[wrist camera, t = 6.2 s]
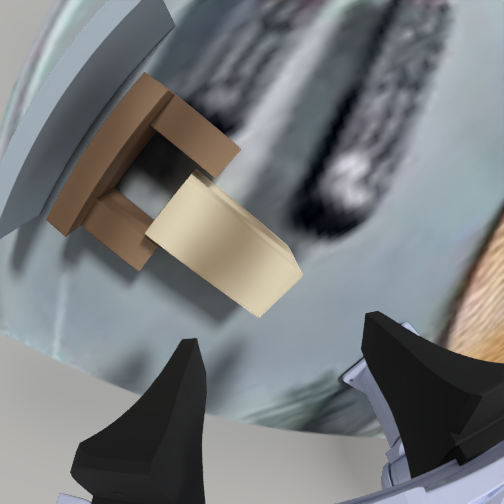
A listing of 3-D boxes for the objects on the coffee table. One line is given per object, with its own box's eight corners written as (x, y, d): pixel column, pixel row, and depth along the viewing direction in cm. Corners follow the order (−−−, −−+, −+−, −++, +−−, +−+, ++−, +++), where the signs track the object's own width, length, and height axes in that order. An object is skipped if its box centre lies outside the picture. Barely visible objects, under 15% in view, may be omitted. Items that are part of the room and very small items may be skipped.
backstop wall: (175, 25, 14) (156, -14, 9) (39, 214, 18) (-9, 244, 13) (159, 14, 14) (134, -25, 8) (26, 203, 18) (-23, 229, 12)
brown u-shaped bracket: (238, 146, 18) (243, 152, 13) (149, 251, 20) (130, 287, 15) (165, 86, 16) (144, 71, 11) (83, 197, 18) (46, 219, 13)
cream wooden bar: (287, 245, 21) (303, 275, 17) (252, 281, 22) (259, 318, 18) (195, 167, 18) (187, 179, 14) (161, 210, 19) (144, 233, 15)
